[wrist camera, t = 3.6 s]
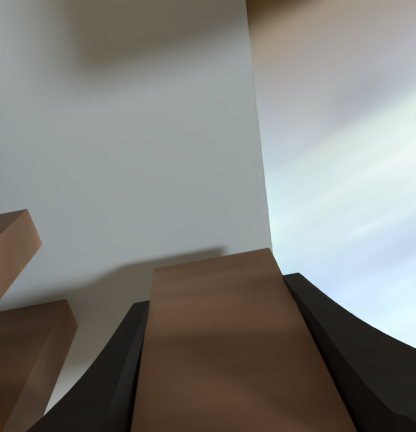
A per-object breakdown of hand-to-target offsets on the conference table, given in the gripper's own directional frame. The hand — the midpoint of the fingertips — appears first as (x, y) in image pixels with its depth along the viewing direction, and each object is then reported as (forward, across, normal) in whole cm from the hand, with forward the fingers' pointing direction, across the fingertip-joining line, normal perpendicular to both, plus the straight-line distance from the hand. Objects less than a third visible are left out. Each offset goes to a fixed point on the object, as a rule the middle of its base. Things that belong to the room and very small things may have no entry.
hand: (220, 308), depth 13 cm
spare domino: (+2, 0, 0) cm, 2 cm away
